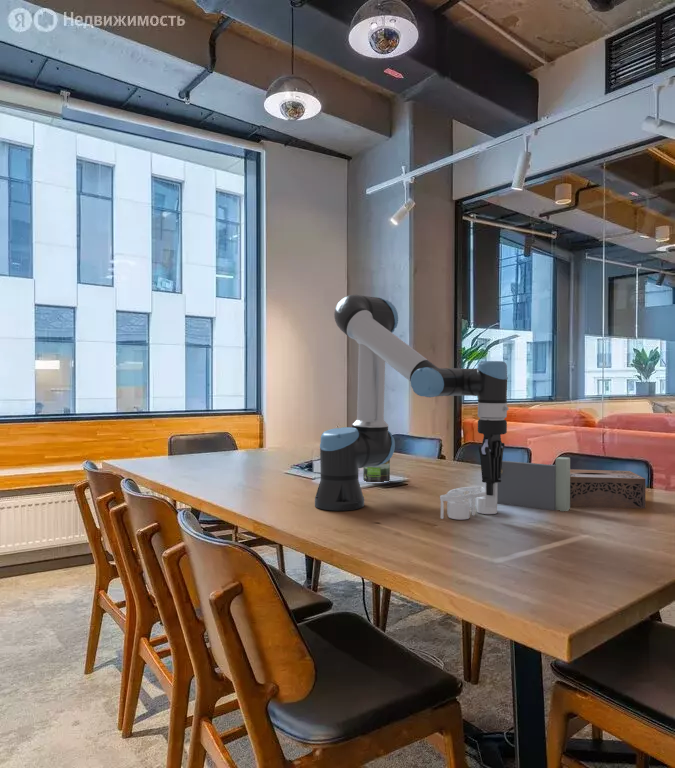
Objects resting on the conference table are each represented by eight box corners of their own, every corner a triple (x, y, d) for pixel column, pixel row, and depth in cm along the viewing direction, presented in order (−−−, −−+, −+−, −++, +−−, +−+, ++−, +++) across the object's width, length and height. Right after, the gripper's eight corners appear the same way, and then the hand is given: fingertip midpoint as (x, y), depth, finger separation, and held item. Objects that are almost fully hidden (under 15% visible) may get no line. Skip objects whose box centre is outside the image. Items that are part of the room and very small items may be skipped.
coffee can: (387, 485, 212) (387, 447, 212) (360, 483, 215) (360, 446, 215) (392, 480, 222) (392, 443, 221) (366, 479, 225) (366, 443, 224)
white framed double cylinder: (454, 527, 153) (454, 499, 153) (426, 519, 162) (426, 492, 162) (505, 517, 164) (505, 491, 164) (476, 509, 173) (476, 485, 173)
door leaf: (563, 517, 163) (563, 460, 163) (484, 506, 176) (484, 454, 176) (571, 511, 170) (571, 457, 170) (495, 501, 184) (495, 451, 184)
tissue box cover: (553, 509, 174) (553, 476, 174) (544, 499, 188) (544, 468, 188) (645, 512, 170) (645, 478, 169) (629, 502, 184) (629, 470, 184)
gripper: (497, 421, 147) (496, 513, 147) (514, 418, 157) (513, 504, 158) (469, 419, 151) (468, 509, 152) (487, 416, 162) (487, 500, 162)
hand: (491, 506), depth 155 cm, fingers closed
